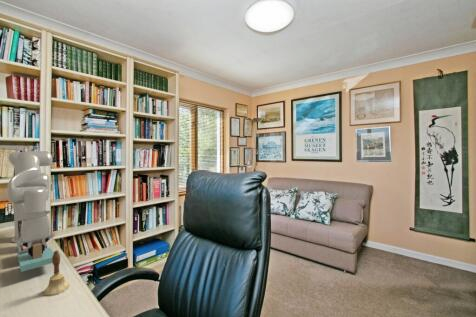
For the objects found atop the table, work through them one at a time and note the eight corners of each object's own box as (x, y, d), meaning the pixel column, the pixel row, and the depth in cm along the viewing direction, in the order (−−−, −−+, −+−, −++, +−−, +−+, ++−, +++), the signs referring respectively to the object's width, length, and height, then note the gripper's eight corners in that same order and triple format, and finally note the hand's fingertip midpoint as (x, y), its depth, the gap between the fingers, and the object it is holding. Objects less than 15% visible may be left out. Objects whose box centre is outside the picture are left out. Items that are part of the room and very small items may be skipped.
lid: (18, 260, 106) (17, 242, 106) (50, 252, 115) (49, 235, 114) (20, 271, 96) (20, 252, 95) (56, 261, 104) (55, 243, 104)
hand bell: (74, 285, 94) (73, 248, 93) (52, 298, 86) (51, 257, 85) (61, 281, 97) (60, 245, 96) (38, 293, 89) (37, 253, 88)
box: (17, 256, 118) (17, 243, 118) (43, 250, 126) (43, 238, 126) (19, 266, 109) (19, 252, 109) (47, 258, 117) (47, 245, 116)
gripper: (56, 210, 113) (57, 246, 114) (10, 217, 101) (11, 257, 102) (59, 213, 108) (60, 250, 109) (11, 220, 96) (12, 263, 97)
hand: (36, 253), depth 105 cm, fingers closed on lid, 3 cm apart
